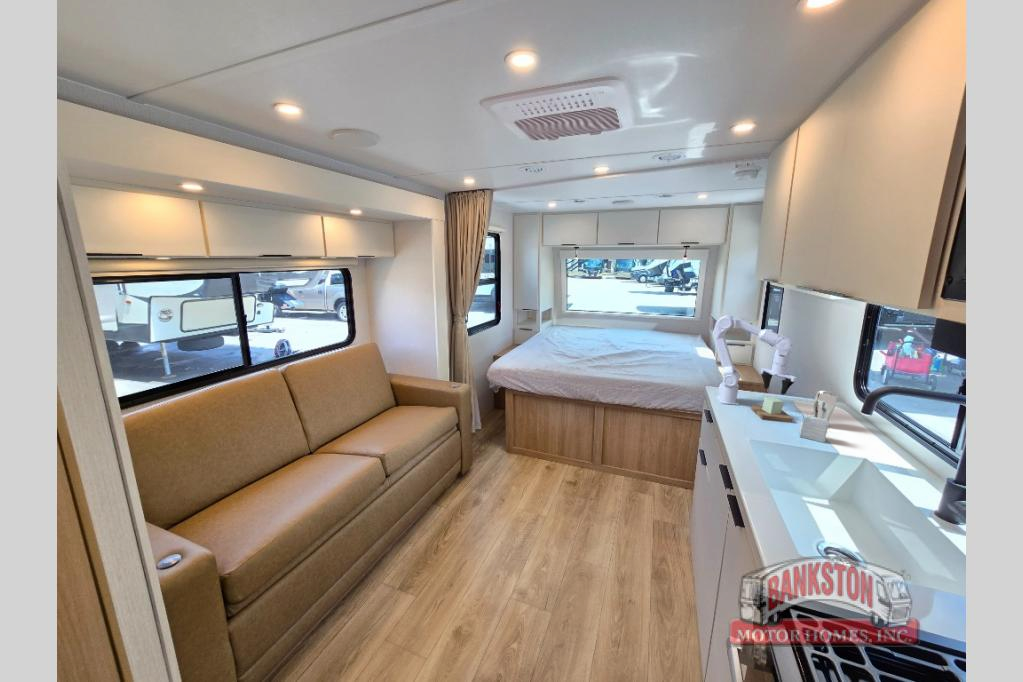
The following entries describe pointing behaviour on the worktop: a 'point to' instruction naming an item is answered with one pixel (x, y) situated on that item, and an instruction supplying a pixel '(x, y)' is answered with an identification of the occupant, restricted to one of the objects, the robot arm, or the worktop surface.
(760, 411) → the walnut base
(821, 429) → the medicine box
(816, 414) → the beer glass
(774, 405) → the sage block
